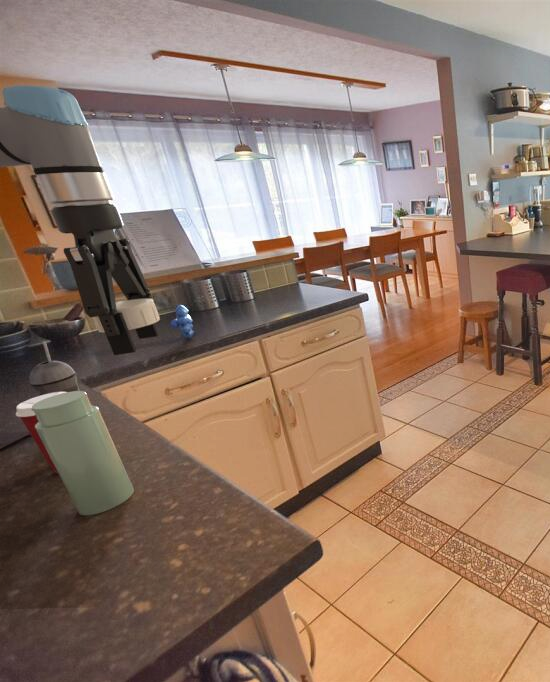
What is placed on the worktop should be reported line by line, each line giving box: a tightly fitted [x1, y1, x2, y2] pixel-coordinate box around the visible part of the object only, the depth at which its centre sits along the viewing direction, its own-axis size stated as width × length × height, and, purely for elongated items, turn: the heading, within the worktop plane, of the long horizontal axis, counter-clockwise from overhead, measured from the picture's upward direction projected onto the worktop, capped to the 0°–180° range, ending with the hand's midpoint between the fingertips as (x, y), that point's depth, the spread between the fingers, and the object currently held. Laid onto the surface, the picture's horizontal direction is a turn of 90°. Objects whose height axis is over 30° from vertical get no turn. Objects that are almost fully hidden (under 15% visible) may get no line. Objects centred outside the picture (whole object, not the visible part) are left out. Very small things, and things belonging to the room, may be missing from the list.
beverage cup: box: [29, 340, 80, 396], centre depth 96 cm, size 7×7×20 cm
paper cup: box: [15, 392, 66, 474], centre depth 82 cm, size 8×8×14 cm
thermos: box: [31, 390, 135, 516], centre depth 70 cm, size 7×7×19 cm
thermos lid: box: [91, 298, 161, 334], centre depth 72 cm, size 8×8×4 cm
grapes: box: [169, 304, 195, 340], centre depth 157 cm, size 12×7×12 cm, turn 32°
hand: (137, 344), depth 74 cm, fingers closed on thermos lid, 8 cm apart
